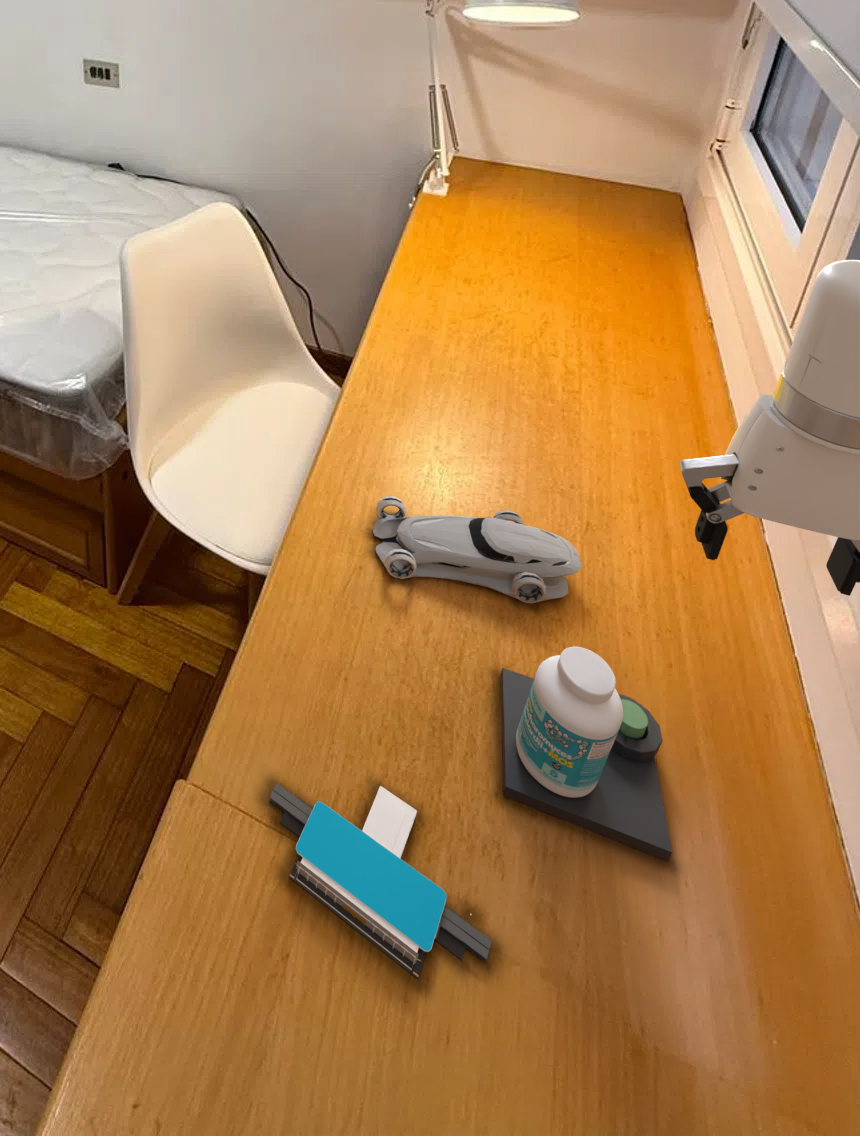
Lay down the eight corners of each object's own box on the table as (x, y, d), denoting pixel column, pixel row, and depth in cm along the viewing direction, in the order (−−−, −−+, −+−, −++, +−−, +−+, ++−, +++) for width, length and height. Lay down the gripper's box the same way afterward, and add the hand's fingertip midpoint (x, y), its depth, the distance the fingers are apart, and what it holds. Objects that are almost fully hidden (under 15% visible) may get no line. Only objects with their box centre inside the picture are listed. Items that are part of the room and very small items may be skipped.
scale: (648, 724, 88) (655, 706, 87) (673, 864, 77) (683, 844, 75) (499, 672, 93) (505, 653, 92) (503, 795, 82) (509, 776, 80)
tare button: (641, 715, 86) (645, 705, 86) (646, 743, 84) (650, 733, 83) (608, 704, 87) (612, 694, 87) (612, 731, 85) (616, 721, 84)
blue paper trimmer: (507, 878, 75) (510, 867, 75) (471, 1021, 66) (475, 1010, 66) (301, 736, 86) (303, 726, 86) (246, 843, 77) (248, 832, 77)
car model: (369, 509, 114) (374, 481, 112) (559, 538, 110) (568, 510, 108) (379, 579, 104) (385, 549, 102) (588, 613, 100) (598, 583, 98)
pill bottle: (497, 737, 85) (525, 645, 80) (552, 712, 88) (583, 621, 83) (557, 815, 79) (591, 721, 74) (614, 785, 81) (651, 692, 76)
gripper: (944, 405, 68) (872, 561, 74) (697, 357, 74) (650, 505, 80) (996, 469, 62) (912, 633, 68) (720, 411, 67) (667, 567, 74)
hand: (770, 564), depth 74 cm, fingers open, 9 cm apart
